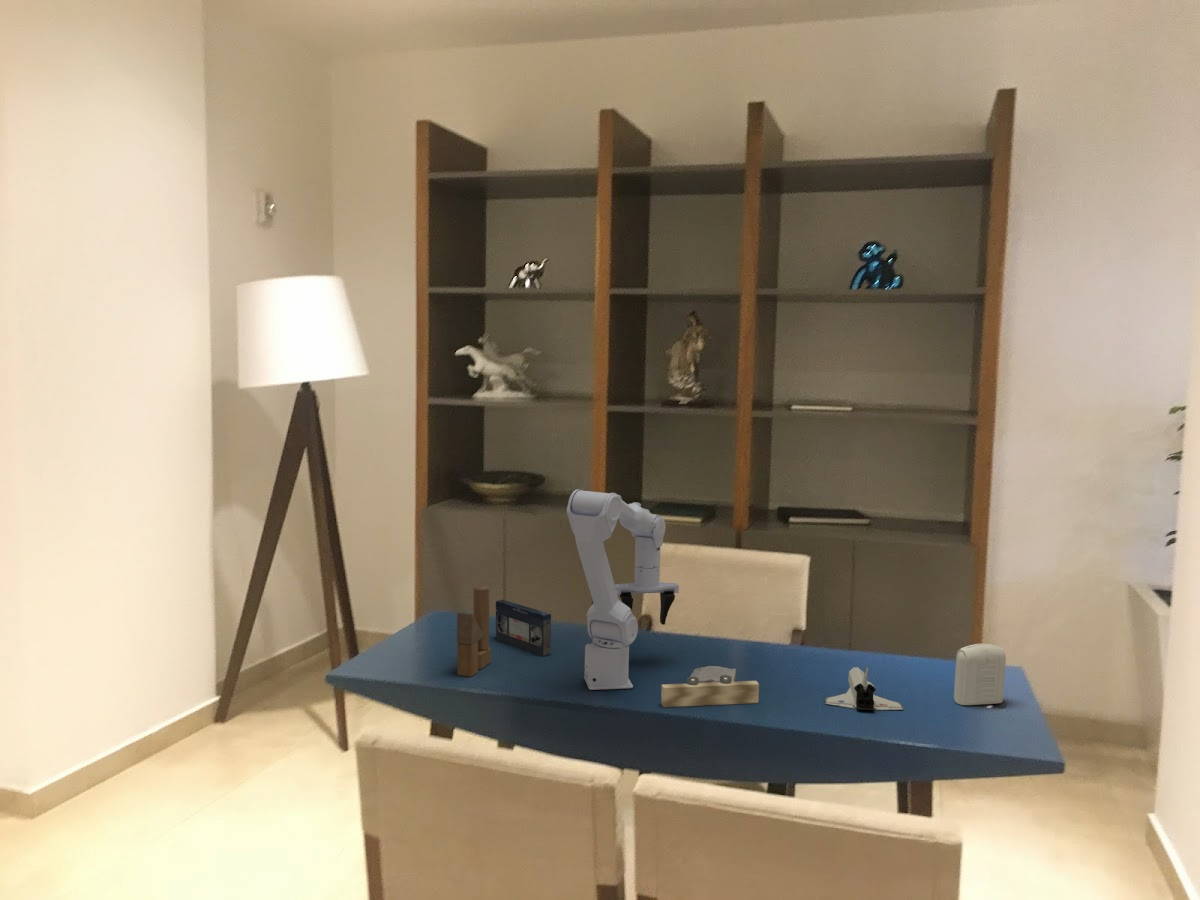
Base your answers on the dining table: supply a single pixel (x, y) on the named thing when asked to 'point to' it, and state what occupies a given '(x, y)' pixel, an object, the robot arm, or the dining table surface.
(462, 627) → the stacked wooden blocks
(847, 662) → the dining table surface
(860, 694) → the space shuttle model
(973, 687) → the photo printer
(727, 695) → the bench stop
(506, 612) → the vhs cassette tape
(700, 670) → the stone block
